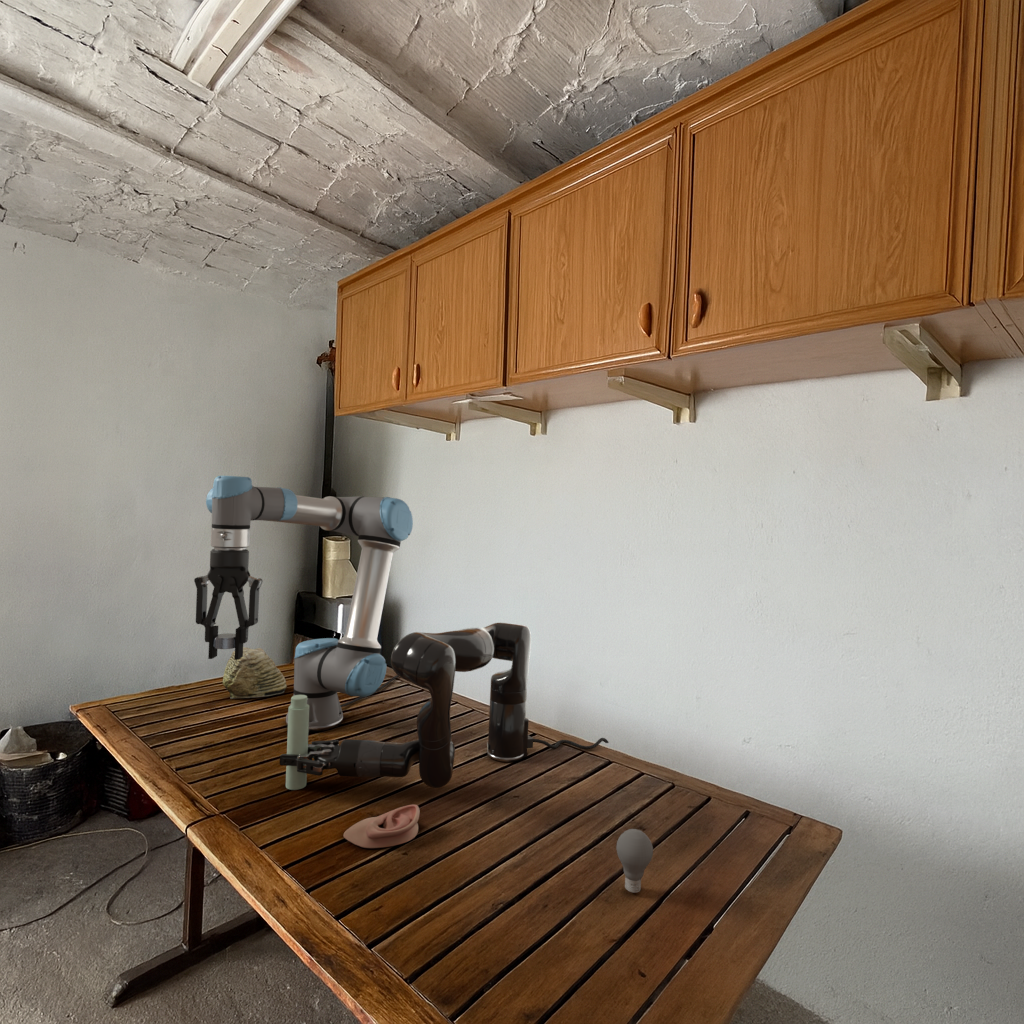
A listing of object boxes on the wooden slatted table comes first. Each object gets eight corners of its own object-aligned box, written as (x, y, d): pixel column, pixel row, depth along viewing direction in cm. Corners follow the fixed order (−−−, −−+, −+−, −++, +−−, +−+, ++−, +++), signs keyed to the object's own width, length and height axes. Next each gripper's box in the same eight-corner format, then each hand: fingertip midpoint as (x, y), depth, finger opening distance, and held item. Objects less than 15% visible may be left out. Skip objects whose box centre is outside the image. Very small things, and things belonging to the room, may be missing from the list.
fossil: (218, 695, 195) (220, 647, 195) (278, 685, 208) (279, 640, 207) (228, 703, 189) (230, 653, 188) (289, 692, 201) (290, 645, 201)
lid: (231, 650, 132) (231, 638, 132) (208, 648, 133) (209, 637, 132) (242, 644, 137) (243, 634, 137) (221, 643, 137) (222, 632, 137)
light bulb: (610, 879, 108) (613, 822, 108) (644, 879, 109) (647, 822, 109) (619, 902, 102) (622, 840, 102) (655, 901, 103) (658, 840, 103)
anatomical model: (336, 822, 116) (363, 794, 127) (335, 843, 116) (362, 813, 127) (404, 832, 113) (426, 803, 124) (403, 854, 113) (425, 823, 124)
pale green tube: (289, 780, 141) (293, 693, 140) (309, 781, 141) (312, 694, 140) (282, 789, 136) (285, 699, 136) (302, 790, 136) (305, 700, 136)
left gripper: (178, 548, 130) (174, 660, 131) (266, 551, 131) (262, 663, 132) (195, 545, 138) (190, 652, 138) (278, 548, 139) (273, 654, 139)
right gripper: (370, 729, 145) (296, 726, 145) (355, 754, 131) (272, 750, 131) (369, 761, 146) (294, 758, 146) (353, 790, 131) (271, 786, 131)
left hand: (225, 657), depth 135 cm, fingers closed on lid, 5 cm apart
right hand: (284, 755), depth 138 cm, fingers closed on pale green tube, 4 cm apart
